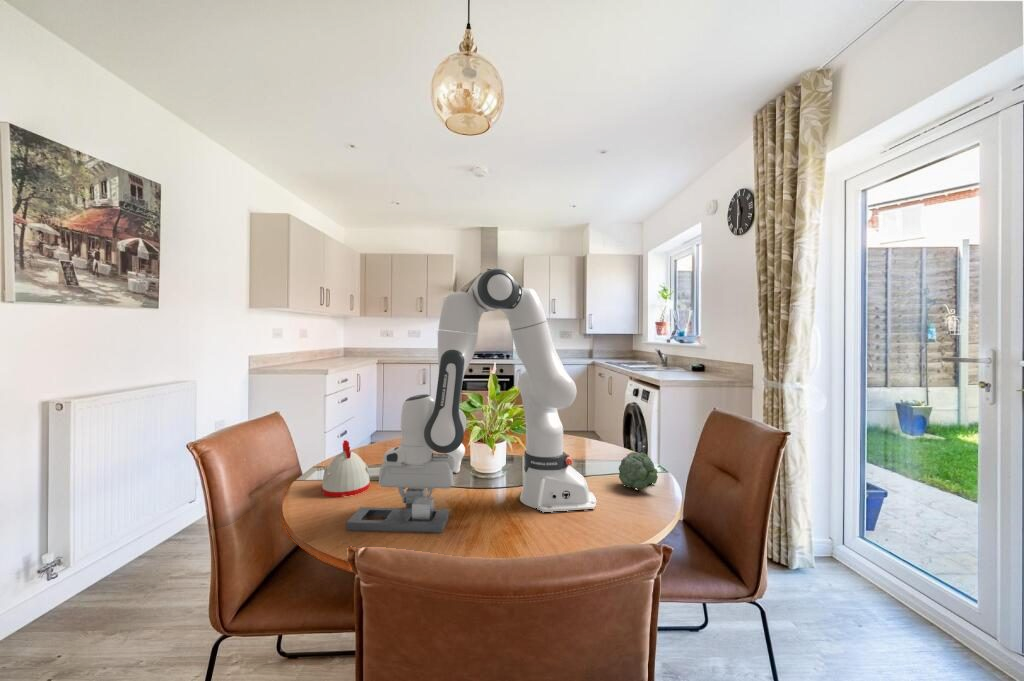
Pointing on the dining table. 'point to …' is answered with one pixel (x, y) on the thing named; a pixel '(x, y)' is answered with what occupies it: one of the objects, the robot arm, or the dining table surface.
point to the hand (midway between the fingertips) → (416, 502)
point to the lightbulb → (457, 457)
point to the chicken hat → (345, 474)
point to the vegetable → (637, 471)
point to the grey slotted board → (396, 520)
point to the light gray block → (423, 509)
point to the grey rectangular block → (414, 495)
